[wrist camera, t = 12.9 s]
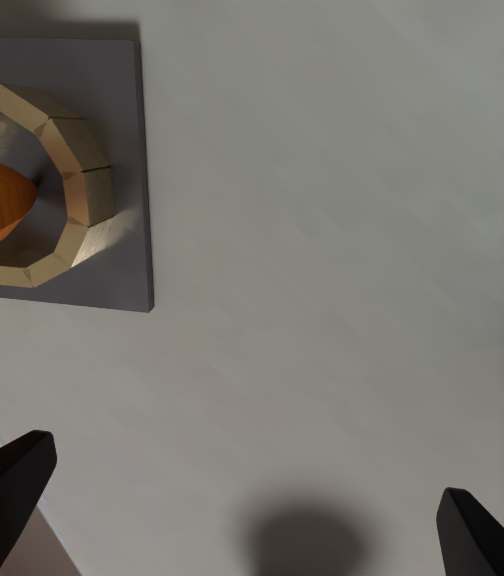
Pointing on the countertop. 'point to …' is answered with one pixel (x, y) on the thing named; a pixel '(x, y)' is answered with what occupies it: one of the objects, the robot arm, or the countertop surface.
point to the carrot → (14, 198)
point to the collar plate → (77, 173)
